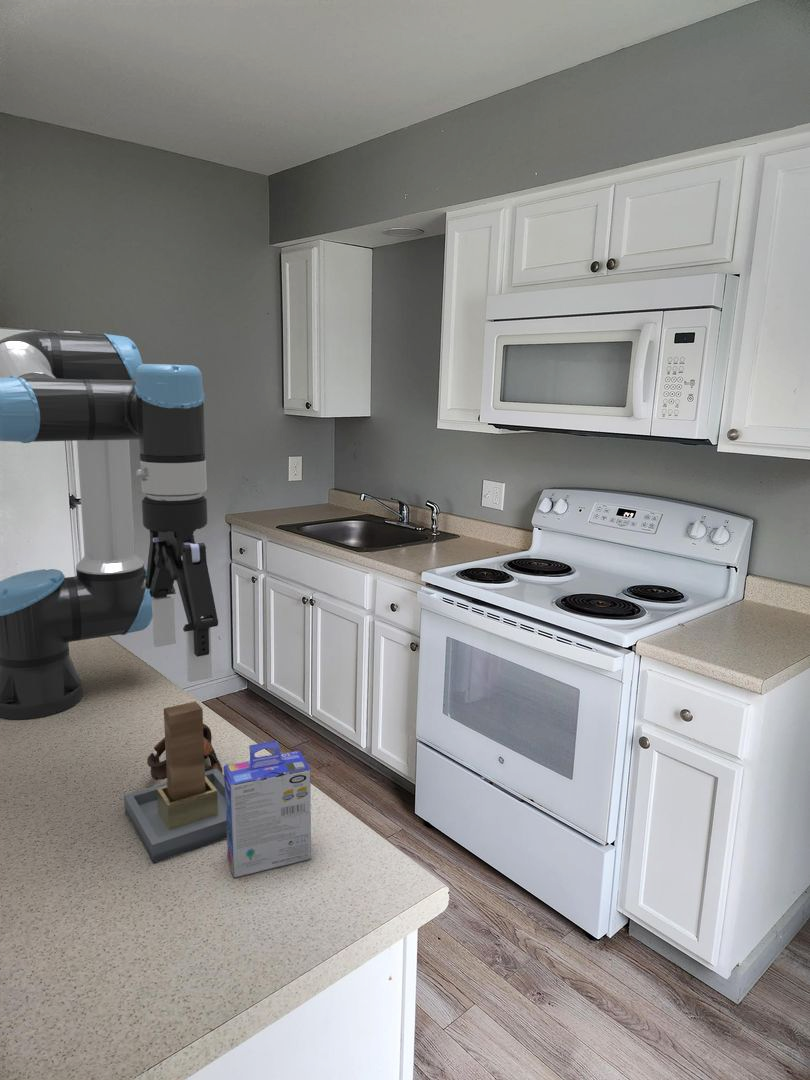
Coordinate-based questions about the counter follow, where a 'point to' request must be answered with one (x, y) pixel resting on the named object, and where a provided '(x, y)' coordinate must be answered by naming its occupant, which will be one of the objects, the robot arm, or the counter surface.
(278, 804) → the ink cartridge box
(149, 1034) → the counter surface
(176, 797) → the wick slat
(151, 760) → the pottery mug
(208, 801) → the tan hollow wooden box
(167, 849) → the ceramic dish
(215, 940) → the counter surface
